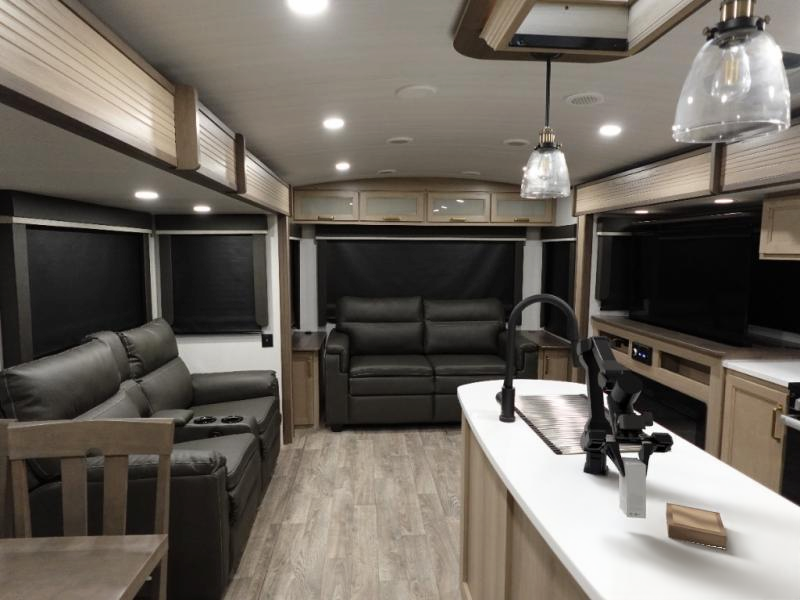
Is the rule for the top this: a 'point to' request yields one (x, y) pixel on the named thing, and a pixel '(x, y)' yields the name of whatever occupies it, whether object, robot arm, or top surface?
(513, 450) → the top surface
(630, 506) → the skincare box
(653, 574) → the top surface
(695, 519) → the walnut tray
